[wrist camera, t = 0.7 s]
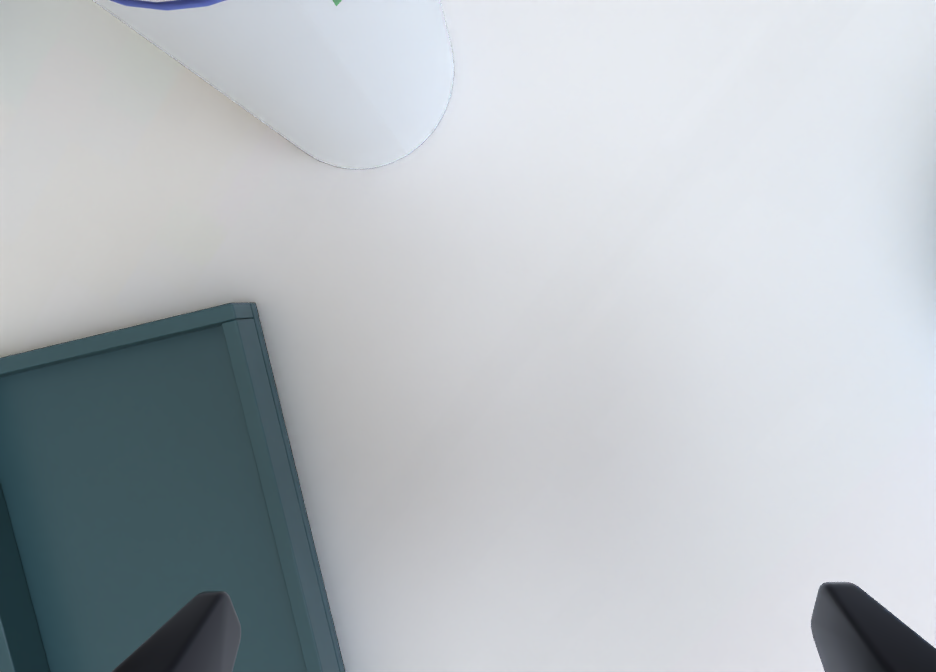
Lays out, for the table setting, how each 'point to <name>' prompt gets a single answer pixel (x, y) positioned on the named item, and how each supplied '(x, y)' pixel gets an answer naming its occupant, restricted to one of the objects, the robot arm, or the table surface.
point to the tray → (153, 498)
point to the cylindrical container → (315, 67)
